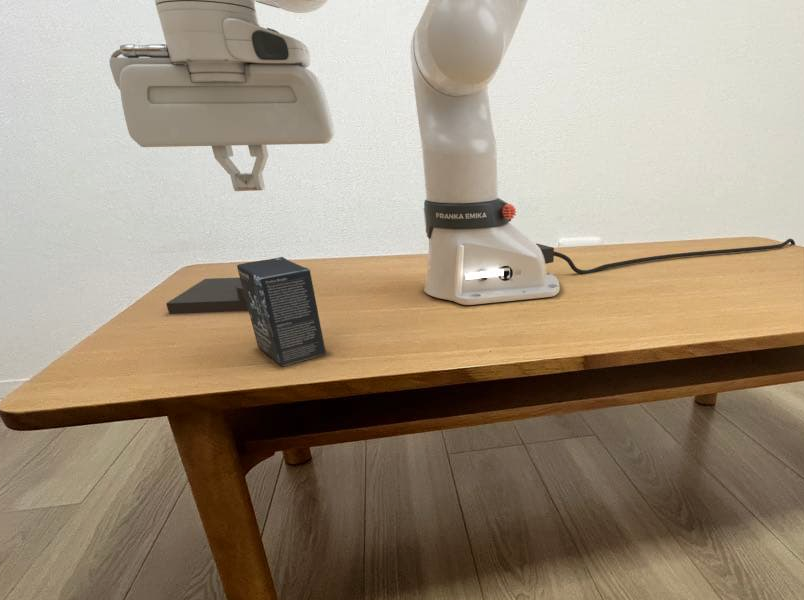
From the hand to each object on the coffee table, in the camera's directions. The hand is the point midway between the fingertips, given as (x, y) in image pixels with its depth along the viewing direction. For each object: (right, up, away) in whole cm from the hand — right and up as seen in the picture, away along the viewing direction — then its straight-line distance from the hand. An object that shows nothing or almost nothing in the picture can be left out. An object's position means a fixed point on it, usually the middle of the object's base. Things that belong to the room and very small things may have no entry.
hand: (250, 190), depth 61 cm
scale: (-14, -7, +25) cm, 30 cm away
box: (+3, -18, +5) cm, 19 cm away
